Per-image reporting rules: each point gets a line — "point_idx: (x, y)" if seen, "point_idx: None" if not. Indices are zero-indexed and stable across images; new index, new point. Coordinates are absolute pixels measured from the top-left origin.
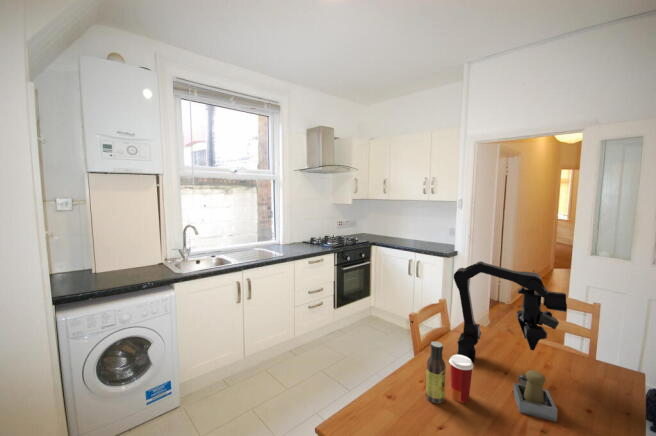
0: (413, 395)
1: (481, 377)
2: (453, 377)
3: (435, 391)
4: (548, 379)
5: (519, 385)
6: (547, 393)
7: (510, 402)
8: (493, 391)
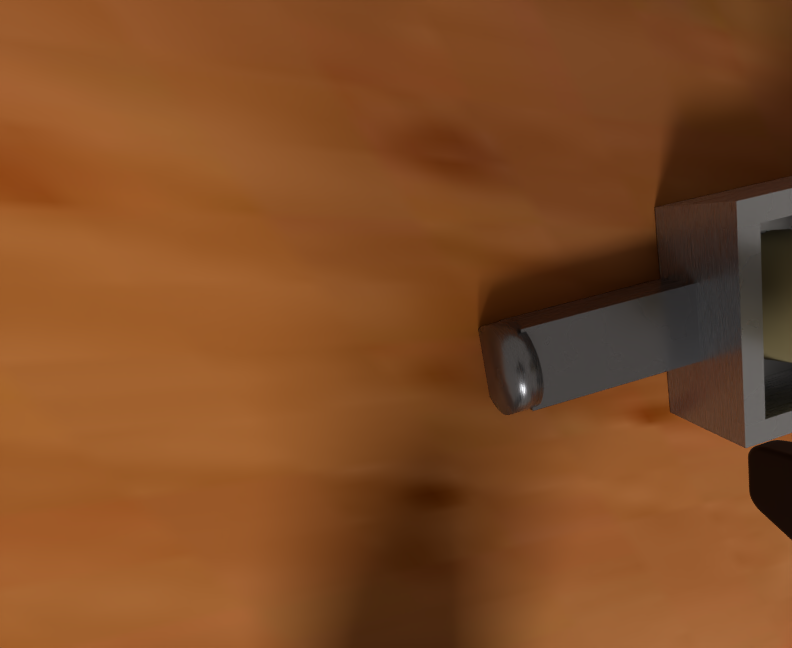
0: None
1: (592, 610)
2: None
3: None
4: (313, 175)
5: (762, 408)
6: (782, 206)
7: None
8: (708, 514)
